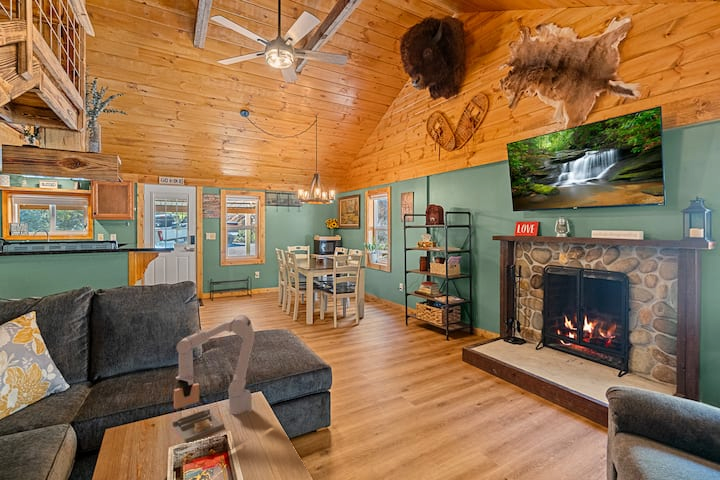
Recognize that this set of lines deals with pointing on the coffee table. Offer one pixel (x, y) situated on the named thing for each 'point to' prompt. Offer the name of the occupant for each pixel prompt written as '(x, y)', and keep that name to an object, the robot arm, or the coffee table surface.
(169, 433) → the coffee table surface
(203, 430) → the block
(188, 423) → the rack
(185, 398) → the panel
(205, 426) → the offcut top
